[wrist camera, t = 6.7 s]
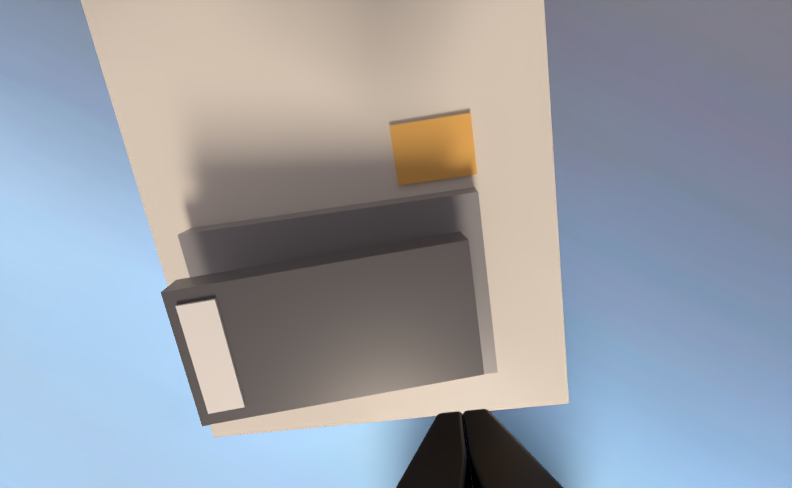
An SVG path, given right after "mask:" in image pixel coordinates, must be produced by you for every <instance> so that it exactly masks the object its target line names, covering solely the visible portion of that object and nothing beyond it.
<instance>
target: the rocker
mask: <svg viewBox="0 0 792 488" xmlns="http://www.w3.org/2000/svg"><path fill="white" fill-rule="evenodd" d="M161 295H162V298H163V301H164V304H165V307H166V311H167V314H168V317H169V320H170V324H171V327H172V330H173V333H174V336H175V340H176V343H177V346H178V349H179V353H180V356H181V359H182V362H183V365H184V369H185V372H186V375H187V378H188V382H189V385H190V388H191V391H192V394H193V398H194V401H195V404H196V407H197V411H198V414H199V417H200V420H201V424H202V426H205V425H211V424H216V423H222V422H227V421H233V420H238V419H244V418H249V417H255V416H260V415H266V414H271V413H277V412H282V411H287V410H293V409H298V408H304V407H309V406H315V405H320V404H326V403H331V402H337V401H342V400H348V399H353V398H359V397H364V396H370V395H375V394H381V393H386V392H391V391H397V390H402V389H408V388H413V387H419V386H424V385H430V384H435V383H441V382H446V381H452V380H457V379H463V378H468V377H474V376H479V375H484V368H483V359H482V350H481V342H480V333H479V325H478V316H477V307H476V299H475V290H474V282H473V273H472V264H471V256H470V247H469V240H468V239H467V238H466V237H465V236H464V235H463V234H462V233H461V232H454V233H448V234H442V235H436V236H430V237H424V238H418V239H413V240H407V241H401V242H395V243H389V244H383V245H377V246H371V247H366V248H360V249H354V250H348V251H342V252H336V253H330V254H324V255H319V256H313V257H307V258H301V259H295V260H289V261H283V262H277V263H272V264H266V265H260V266H254V267H248V268H242V269H236V270H230V271H225V272H219V273H213V274H207V275H201V276H195V277H189V278H183V279H178V280H175V281H174V282H173V283H172V284H170V285H169V286H168V287H167V288H166V289H164V290H163V291H162V292H161Z"/></svg>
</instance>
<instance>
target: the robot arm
mask: <svg viewBox="0 0 792 488" xmlns="http://www.w3.org/2000/svg"><path fill="white" fill-rule="evenodd" d="M463 419H464V421H463ZM464 426H465V428H464ZM465 434H466V435H465ZM466 441H467V442H466ZM468 456H469V457H468ZM469 463H470V464H469ZM470 471H471V472H470ZM471 478H472V479H471ZM472 485H473V487H472ZM396 488H563V487H562V486H561V485H560V484H559V483H558V482H557V481H556V480H555V479H554V478H553V477H552V476H551V474H550V473H549V472H548V471H547V470H546V469H545V468H544V467H543V466H542V465H541V464H540V463H539V462H538V461H537V460H536V459H535V458H534V457H533V456H532V455H531V454H530V453H529V452H528V451H527V450H526V449H525V448H524V447H523V446H522V445H521V444H520V443H519V442H518V440H517V439H516V438H515V437H514V436H513V435H512V434H511V433H510V432H509V431H508V430H507V429H506V428H505V427H504V426H503V425H502V424H501V423H500V422H499V421H498V420H497V419H496V418H495V417H494V416H493V415H492V414H491V413H490V412H489V411H488V410H487V409H476V410H467V411H465V412H464V413H463V415H462V413H461V412H459V411H456V412H446V413H439V414H438V415H437V417H436V418H435V420H434V422H433V424H432V425H431V427H430V429H429V431H428V432H427V434H426V436H425V438H424V440H423V441H422V443H421V445H420V447H419V448H418V450H417V452H416V454H415V455H414V457H413V459H412V461H411V462H410V464H409V466H408V468H407V469H406V471H405V473H404V475H403V476H402V478H401V480H400V482H399V483H398V485H397V487H396Z"/></svg>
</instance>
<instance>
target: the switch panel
mask: <svg viewBox="0 0 792 488" xmlns="http://www.w3.org/2000/svg"><path fill="white" fill-rule="evenodd" d="M81 3H82V6H83V9H84V12H85V16H86V19H87V22H88V26H89V29H90V32H91V35H92V39H93V42H94V45H95V49H96V52H97V55H98V58H99V62H100V65H101V68H102V72H103V75H104V78H105V81H106V85H107V88H108V91H109V94H110V98H111V101H112V104H113V108H114V111H115V114H116V117H117V121H118V124H119V127H120V131H121V134H122V137H123V140H124V144H125V147H126V150H127V154H128V157H129V160H130V163H131V167H132V170H133V173H134V177H135V180H136V183H137V186H138V190H139V193H140V196H141V200H142V203H143V206H144V209H145V213H146V216H147V219H148V222H149V226H150V229H151V232H152V236H153V239H154V242H155V245H156V249H157V252H158V255H159V259H160V262H161V265H162V268H163V272H164V275H165V278H166V282H167V285H168V286H169V285H170V284H172V283H173V282H174V281H175V280H178V279H183V278H189V277H195V276H201V275H207V274H213V273H219V272H225V271H230V270H236V269H242V268H248V267H254V266H260V265H266V264H272V263H277V262H283V261H289V260H295V259H301V258H307V257H313V256H319V255H324V254H330V253H336V252H342V251H348V250H354V249H360V248H366V247H371V246H377V245H383V244H389V243H395V242H401V241H407V240H413V239H418V238H424V237H430V236H436V235H442V234H448V233H454V232H461V233H462V234H463V235H464V236H465V237H466V238H467V239H468V240H469V247H470V256H471V264H472V273H473V282H474V290H475V299H476V307H477V316H478V325H479V333H480V342H481V350H482V359H483V368H484V375H479V376H474V377H468V378H463V379H457V380H452V381H446V382H441V383H435V384H430V385H424V386H419V387H413V388H408V389H402V390H397V391H391V392H386V393H381V394H375V395H370V396H364V397H359V398H353V399H348V400H342V401H337V402H331V403H326V404H320V405H315V406H309V407H304V408H298V409H293V410H287V411H282V412H277V413H271V414H266V415H260V416H255V417H249V418H244V419H238V420H233V421H227V422H222V423H216V424H211V425H210V426H211V429H212V433H213V436H214V437H220V436H230V435H241V434H252V433H262V432H273V431H283V430H294V429H304V428H315V427H325V426H336V425H346V424H357V423H367V422H378V421H389V420H399V419H410V418H420V417H431V416H437V415H438V414H439V413H446V412H456V411H459V412H461V413H464V412H465V411H467V410H476V409H487V410H488V411H494V410H505V409H515V408H526V407H536V406H547V405H557V404H568V403H569V397H568V381H567V365H566V348H565V332H564V316H563V300H562V284H561V268H560V252H559V236H558V220H557V204H556V188H555V171H554V155H553V139H552V123H551V107H550V91H549V75H548V59H547V43H546V27H545V11H544V0H81Z"/></svg>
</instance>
